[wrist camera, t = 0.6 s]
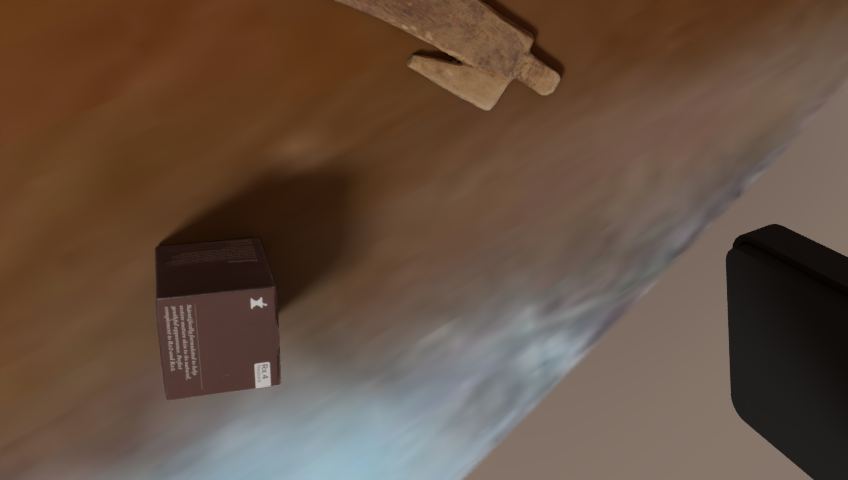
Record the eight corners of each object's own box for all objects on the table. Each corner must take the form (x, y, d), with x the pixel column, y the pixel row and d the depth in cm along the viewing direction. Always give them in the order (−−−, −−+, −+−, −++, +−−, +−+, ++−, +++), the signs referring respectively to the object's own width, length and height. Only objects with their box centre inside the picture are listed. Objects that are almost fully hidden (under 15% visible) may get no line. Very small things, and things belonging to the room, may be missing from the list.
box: (153, 242, 44) (154, 296, 38) (261, 234, 46) (279, 284, 40) (162, 337, 46) (164, 403, 40) (264, 326, 48) (282, 387, 42)
